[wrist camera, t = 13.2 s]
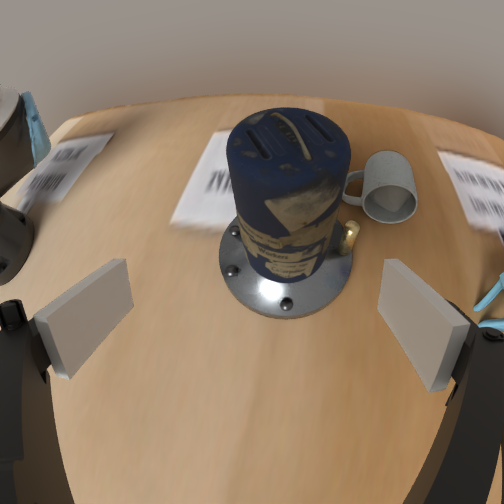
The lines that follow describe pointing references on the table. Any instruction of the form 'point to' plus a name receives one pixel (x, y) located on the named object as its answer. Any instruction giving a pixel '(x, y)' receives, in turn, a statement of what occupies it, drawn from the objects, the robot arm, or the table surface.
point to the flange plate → (287, 294)
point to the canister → (287, 189)
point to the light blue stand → (494, 323)
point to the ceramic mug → (385, 188)
